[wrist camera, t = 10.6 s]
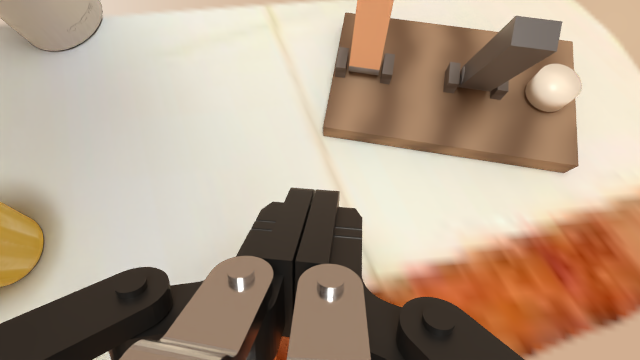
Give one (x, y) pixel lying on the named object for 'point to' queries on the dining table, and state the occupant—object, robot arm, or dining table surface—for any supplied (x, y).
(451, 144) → the switch board
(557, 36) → the long grey beam
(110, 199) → the dining table surface
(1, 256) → the plant pot
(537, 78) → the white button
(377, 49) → the orange block
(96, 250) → the dining table surface
